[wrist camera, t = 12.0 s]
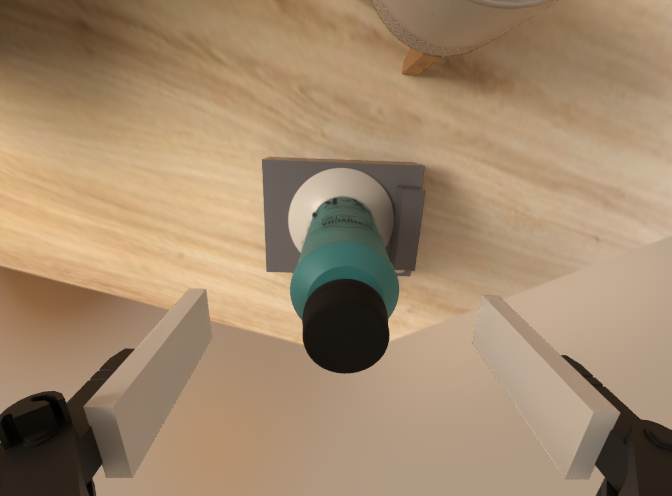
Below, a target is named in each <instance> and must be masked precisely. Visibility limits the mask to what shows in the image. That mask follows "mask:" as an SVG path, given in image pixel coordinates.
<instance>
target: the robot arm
mask: <svg viewBox="0 0 672 496" xmlns="http://www.w3.org/2000/svg"><path fill="white" fill-rule="evenodd" d="M211 339H212V334H211V326H210V317H209V309H208V301H207V293H206V289H190V288H189V289H188V291H187V292H186V293H185V294H184V295H183V296H182V297H181V298H180V299H179V301H178V302H177V303H176V304H175V305H174V306H173V307H172V308H171V310H170V311H169V312H168V313H167V314H166V315H165V316H164V317H163V318H162V320H161V321H160V322H159V323H158V324H157V325H156V326H155V327H154V329H153V330H152V331H151V332H150V333H149V334H148V335H147V336H146V337H145V339H144V340H143V341H142V342H141V343H140V344H139V345H138V346H137V347H136V349H124V350H122V351H121V352H119V353H118V354H116V355H114V356H113V357H111V358H110V359H109V360H108V361H107V362H106V363H105V364H104V365H103V366H102V367H101V368H100V371H97V372H96V373H95V375H93V376H92V377H91V379H90V381H87V382H86V384H85V385H84V386H83V387H82V388H81V389H80V390H79V391H78V392H77V393H76V394H75V395H74V396H73V397H72V398H71V399H70V400H69V401H68V402H67V403H66V401H65V398H64V397H63V395H62V393H59V392H56V391H48V392H41V393H38V394H34V395H31V396H29V397H26V398H24V399H22V400H20V401H18V402H16V403H15V404H13V405H11V406H10V407H8V408H7V409H6V410H5V411H3V413H2V414H0V441H1V443H0V496H96V491H95V485H94V482H93V479H92V478H93V476H94V475H95V473H96V472H97V470H98V469H99V467H100V466H101V464H102V466H103V469H104V472H105V475H106V477H107V478H133V476H134V475H135V473H136V471H137V469H138V467H139V466H140V464H141V462H142V460H143V459H144V457H145V455H146V453H147V452H148V450H149V448H150V446H151V445H152V443H153V441H154V439H155V437H156V436H157V434H158V432H159V431H160V429H161V427H162V425H163V424H164V422H165V420H166V418H167V417H168V415H169V413H170V411H171V410H172V408H173V406H174V404H175V402H176V400H177V399H178V397H179V395H180V394H181V392H182V390H183V388H184V387H185V385H186V383H187V381H188V380H189V378H190V376H191V374H192V373H193V371H194V369H195V367H196V366H197V364H198V362H199V360H200V359H201V357H202V355H203V353H204V351H205V350H206V348H207V346H208V344H209V343H210V341H211ZM472 344H473V345H474V347H475V348H476V350H477V351H478V353H479V354H480V355H481V357H482V358H483V360H484V361H485V363H486V364H487V366H488V367H489V368H490V370H491V372H492V373H493V375H494V376H495V378H496V379H497V380H498V382H499V383H500V385H501V386H502V388H503V389H504V391H505V392H506V394H507V395H508V397H509V398H510V400H511V401H512V403H513V404H514V405H515V407H516V408H517V410H518V411H519V413H520V414H521V416H522V417H523V418H524V420H525V422H526V423H527V424H528V426H529V428H530V429H531V430H532V432H533V433H534V435H535V436H536V438H537V439H538V441H539V442H540V443H541V445H542V447H543V448H544V449H545V451H546V453H547V454H548V456H549V457H550V458H551V460H552V461H553V463H554V464H555V466H556V467H557V469H558V470H559V472H560V473H561V475H562V476H563V477H564V479H589V478H590V476H591V473H592V471H593V469H594V467H595V465H596V467H597V468H598V469H599V470H600V472H601V473H602V474H603V475H604V476H605V479H604V480H603V483H602V484H601V486H600V489H599V490H598V492H597V494H596V496H672V430H670V429H668V428H666V427H664V426H662V425H660V424H658V423H655V422H652V421H649V420H641V419H640V418H639V417H637V416H636V415H635V414H634V413H633V412H632V411H631V410H630V409H629V408H628V407H627V406H626V405H624V404H623V403H622V402H621V401H620V400H619V399H618V398H617V397H616V396H615V395H613V394H612V393H611V392H610V391H609V390H608V389H607V388H606V387H603V384H602V383H601V382H599V381H598V380H597V379H596V378H593V375H592V374H591V373H589V372H588V371H587V370H586V369H585V368H584V367H583V366H582V365H581V364H579V363H578V362H576V361H574V360H573V359H571V358H569V357H568V356H566V355H560V354H559V353H558V352H557V351H555V349H553V348H552V347H551V346H550V345H549V344H548V343H547V342H546V341H545V340H544V339H543V338H542V337H541V336H540V335H539V334H538V333H537V332H536V331H535V330H534V329H533V328H532V327H530V326H529V324H528V323H526V322H525V321H524V320H523V319H522V318H521V317H520V316H519V315H518V314H517V313H516V312H515V311H514V310H513V309H512V308H511V307H510V306H509V305H508V304H507V303H506V302H505V301H504V300H503V299H502V298H500V297H499V296H487V295H483V298H482V302H481V306H480V311H479V315H478V320H477V324H476V328H475V333H474V337H473V341H472Z"/></svg>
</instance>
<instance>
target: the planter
mask: <svg viewBox="0 0 672 496" xmlns="http://www.w3.org/2000/svg"><path fill="white" fill-rule="evenodd" d="M556 1H558V0H372V3H373V5H374V8H375V9H376V11H377V13H378V15H379V17H380V19H381V20H382V22H383V23H384V24H385V25H386V27H387V28H388V29H389V31H390V32H391V33H392V34H393V35H394V36H395V37H397V38H398V39H399V40H400V41H401V42H403V43H404V44H406V45H407V46H409V47H410V48H411V49H410V51H409V53H408V55H407V57H406V59H405V60H404V65H403V70H402V74H406V75H413V76H417V75H418V74H420V73H421V72H422V71H424V70H425V69H426V68H428V67H429V66H430V65H432V64H433V63H435V62H436V61H437V60H439V59H440V58H441V57H442V56H453V55H460V54H464V53H467V52H471V51H473V50H475V49H478V48H480V47H482V46H484V45H486V44H487V43H489V42H491V41H492V40H494V39H495V38H497V37H499V36H500V35H502V34H504V33H505V32H507V31H509V30H510V29H512V28H514V27H515V26H517V25H519V24H520V23H522V22H523V21H525V20H527V19H528V18H530V17H532V16H533V15H535V14H537V13H538V12H540V11H542V10H543V9H545V8H547V7H548V6H550V5H551V4H553V3H555V2H556Z"/></svg>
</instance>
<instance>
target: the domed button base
mask: <svg viewBox="0 0 672 496" xmlns="http://www.w3.org/2000/svg"><path fill="white" fill-rule="evenodd" d="M424 167H425V166H424V165H421V164H417V163H412V162H386V161H360V160H334V159H308V158H282V157H268V158H265V159H262V169H263V193H264V217H265V242H266V266H267V272H291V273H294V271H295V268H296V267H297V264H298V261H299V258H300V255H301V251H302V247H303V243H304V242H302V240H303V241H305V240H304V239H305V238H306V235H307V232H308V231H307V230H308V229H309V226H310V223H311V220H312V214H313V212H315V211H316V210H317V208H318V207H319V206H320V205H321V204H320V203H322V202H323V203H324V200H325V201H327V200H329V199H331V198H335V197H338V196H339V195H345V196H347V197H350V196H351V197H352V198H353V199H354V198H355V199H356V198H357V199H356V200H358V199H359V200H358V201H359V202H361V203H362V202H363V204H364V203H365V204H364V205H365V206H366V208H367V207H369V208H367V209H368V210H371V213H372V214H371V215H373V216H372V218H373V217H374V218H373V220H374V219H375V220H376V221H375V220H374V222H375V225H376V227H377V230H378V232H379V234H380V237H382V238H383V239H382V238H381V239H382V240H383V242H384V243H383V244H384V246H385V249H386V253H387V255H388V258H389V260H390V262H391V264H392V266H393V267H394V270H395V272H396V275H397V276H410V274H411V270H412V271H415V264H416V257H417V249H418V242H419V234H420V227H421V219H422V212H423V205H424V197H425V190H423V189H422V182H423V174H424ZM345 196H344V197H345ZM330 197H331V198H330ZM339 197H343V196H339ZM369 212H370V211H369ZM309 220H310V221H309ZM308 223H309V224H308ZM307 226H308V227H307ZM305 232H306V233H305ZM303 238H304V239H303ZM387 248H388V249H387ZM299 249H300V250H299Z"/></svg>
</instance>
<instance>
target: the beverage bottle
mask: <svg viewBox="0 0 672 496" xmlns="http://www.w3.org/2000/svg"><path fill="white" fill-rule="evenodd" d="M339 196H343V197H339ZM339 196H338V197H335V198H331V197H330V198H331V199H329V200H327V201H325V200H324V203H323V202H322V203H320V204H321V205H320V206H319V207H318V208H317V210H316V211H315V212H313V214H312V220H311V223H310V226H309V229H308V230H307V231H308V232H307V235H306V238H305V239H304V238H303V239H304V240H305V241H303V240H302V242H304V243H303V247H302V251H301V255H300V258H299V261H298V264H297V267H296V268H295V271H294V273H293V276H292V279H291V285H290V295H291V300H292V304H293V306H294V309H295V311H296V312H297V314H298V316H299V317H300V318H301V319H302V324H303V343H304V346H305V349H306V351H307V353H308V355H309V356H310V358H311V359H312V360H313V361H314V362H315V363H316V364H318V365H319V366H321V367H322V368H324V369H326V370H329V371H332V372H336V373H355V372H359V371H362V370H365V369H367V368H369V367H371V366H372V365H374V364H375V363H376V362H377V361H379V359H380V358H381V357H382V356H383V355H384V353H385V351H386V349H387V346H388V342H389V327H388V318H389V317H390V316H391V314H392V313H393V311H394V309H395V307H396V304H397V301H398V296H399V283H398V278H397V275H396V272H395V270H394V267H393V266H392V264H391V262H390V260H389V258H388V255H387V253H386V249H385V246H384V244H383V243H384V242H383V240H382V239H383V238H382V237H380V234H379V232H378V230H377V227H376V225H375V222H374V220H375V219H374V220H373V218H374V217H373V218H372V216H373V215H371V214H372V213H371V210H368V209H367V208H369V207H367V208H366V206H365V205H364V204H365V203H364V204H363V202H362V203H361V202H359V201H358V200H359V199H358V200H356V199H357V198H356V199H355V198H354V199H353V198H352V197H351V196H350V197H347V196H345V195H339ZM344 196H345V197H344ZM369 211H370V212H369ZM309 221H310V220H309ZM375 221H376V220H375ZM308 224H309V223H308ZM307 227H308V226H307ZM305 233H306V232H305ZM381 238H382V239H381ZM387 249H388V248H387ZM299 250H300V249H299Z"/></svg>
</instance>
